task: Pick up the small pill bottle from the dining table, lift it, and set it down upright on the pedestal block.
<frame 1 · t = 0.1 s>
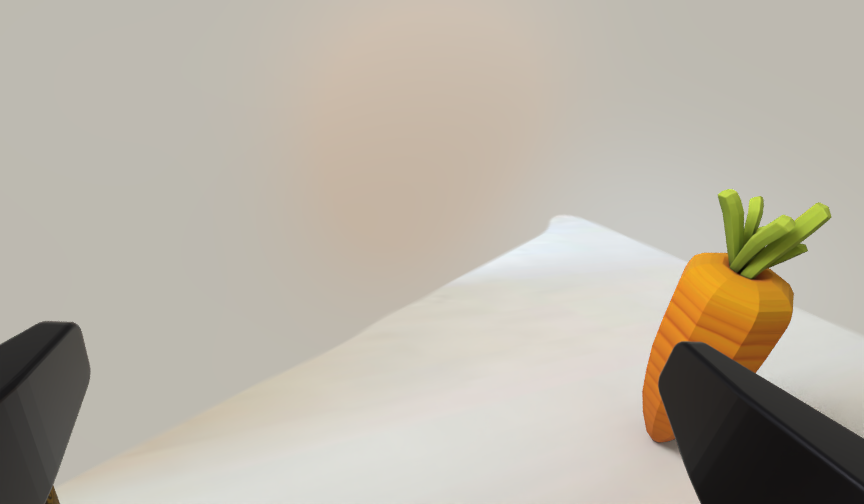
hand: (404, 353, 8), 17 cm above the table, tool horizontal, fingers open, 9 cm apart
carrot: (653, 441, 30), on the table
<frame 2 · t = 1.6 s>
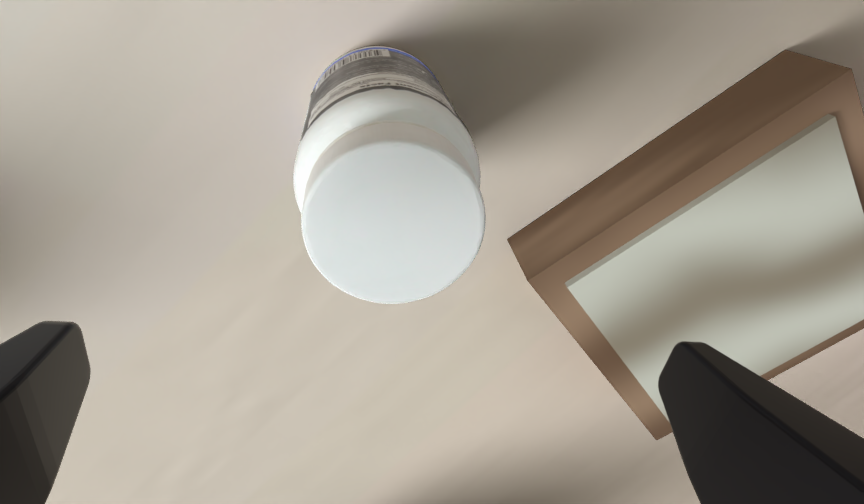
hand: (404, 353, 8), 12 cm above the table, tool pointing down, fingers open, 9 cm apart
pill bottle: (378, 113, 19), on the table
pedestal: (692, 252, 23), on the table
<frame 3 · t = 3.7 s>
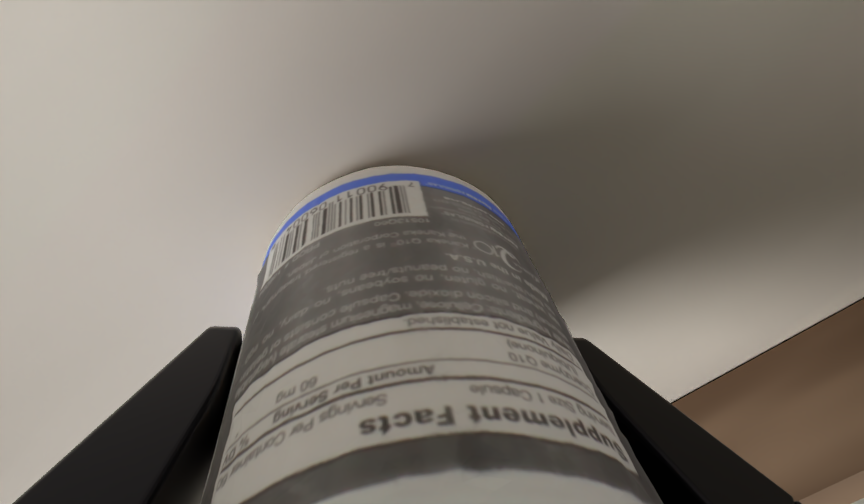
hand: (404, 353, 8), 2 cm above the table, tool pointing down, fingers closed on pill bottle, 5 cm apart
pill bottle: (395, 271, 10), on the table, touching gripper
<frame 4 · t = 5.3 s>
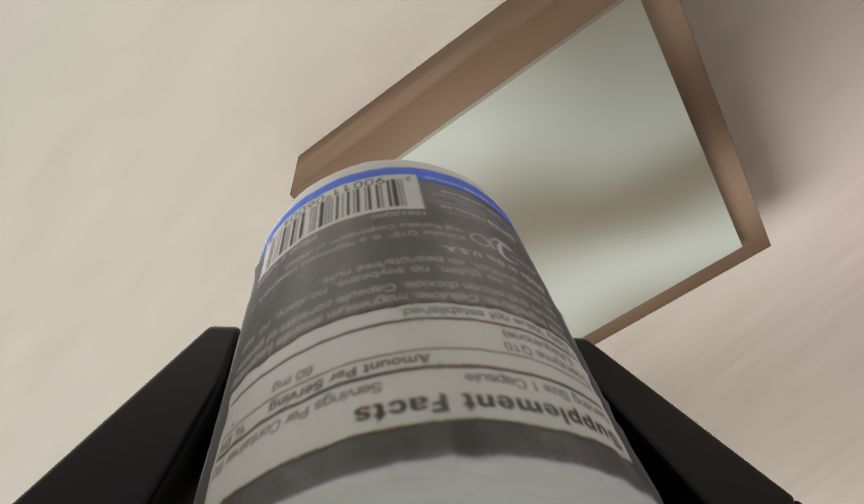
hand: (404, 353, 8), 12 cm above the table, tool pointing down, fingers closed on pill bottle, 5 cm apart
pill bottle: (393, 266, 10), point 10 cm above the table, touching gripper
pedestal: (528, 184, 20), on the table
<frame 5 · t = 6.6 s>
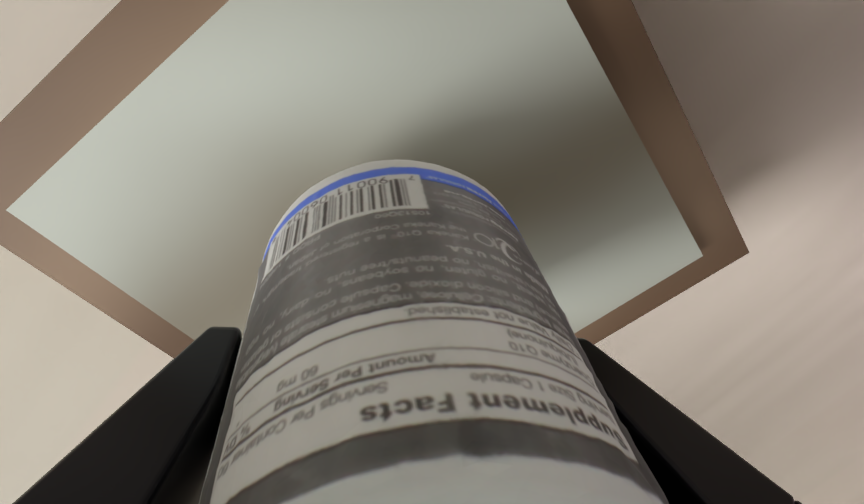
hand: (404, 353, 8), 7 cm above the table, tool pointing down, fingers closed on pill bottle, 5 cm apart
pill bottle: (395, 266, 10), point 4 cm above the table, touching gripper
pedestal: (386, 170, 14), on the table
when the fingers open (6 cm above the table, at t = 7.4 s): pill bottle stays where it is, resting on pedestal.
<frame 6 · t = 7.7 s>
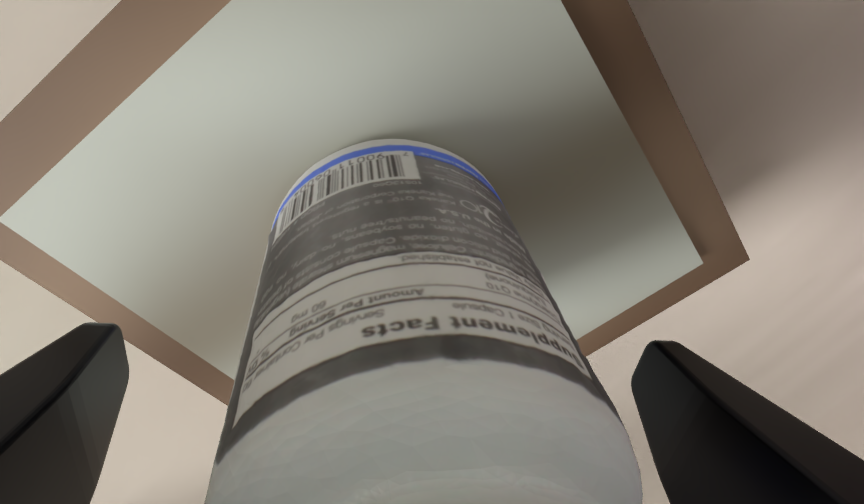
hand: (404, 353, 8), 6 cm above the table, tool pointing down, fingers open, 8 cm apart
pill bottle: (391, 238, 11), point 3 cm above the table, touching pedestal
pedestal: (384, 176, 14), on the table
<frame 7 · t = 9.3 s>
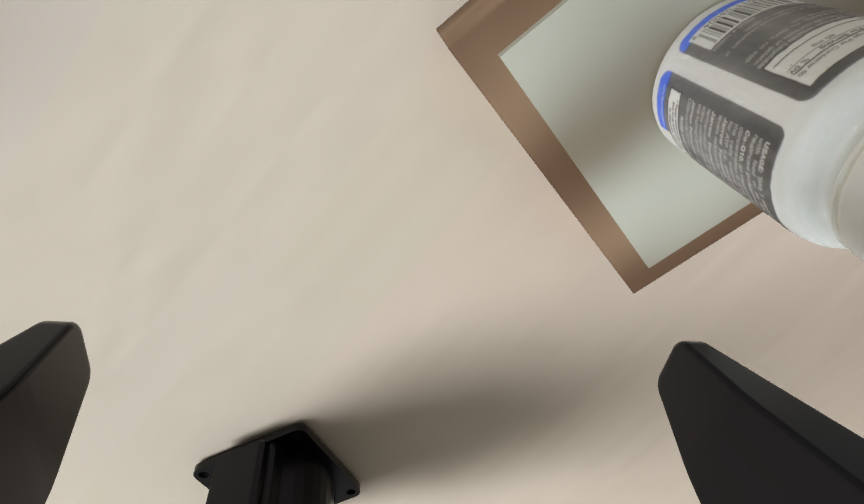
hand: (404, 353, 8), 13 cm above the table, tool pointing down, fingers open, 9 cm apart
pill bottle: (720, 74, 17), point 3 cm above the table, touching pedestal
pedestal: (671, 51, 19), on the table
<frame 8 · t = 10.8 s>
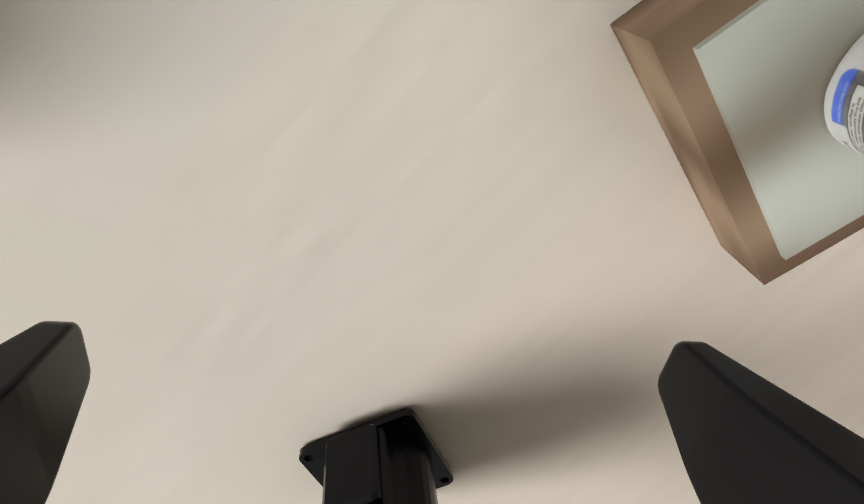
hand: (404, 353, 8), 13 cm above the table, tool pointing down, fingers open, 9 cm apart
pedestal: (817, 55, 20), on the table
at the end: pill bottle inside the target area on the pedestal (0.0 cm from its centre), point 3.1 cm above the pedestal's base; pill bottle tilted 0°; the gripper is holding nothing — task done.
